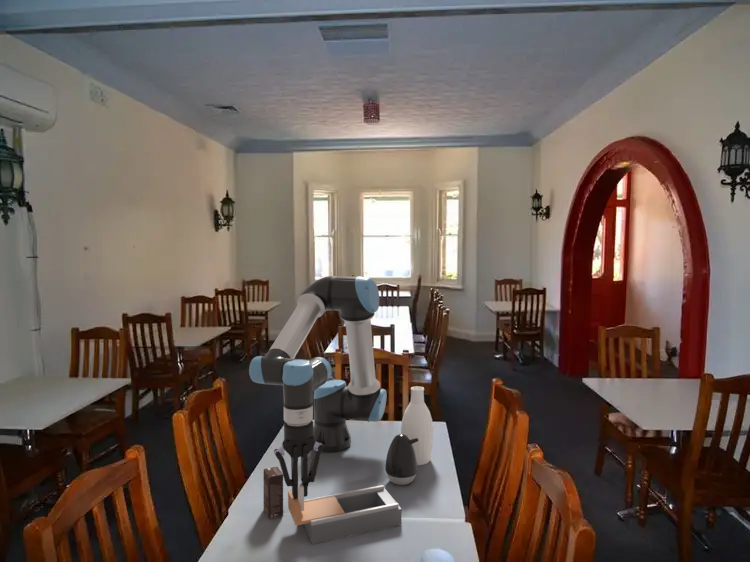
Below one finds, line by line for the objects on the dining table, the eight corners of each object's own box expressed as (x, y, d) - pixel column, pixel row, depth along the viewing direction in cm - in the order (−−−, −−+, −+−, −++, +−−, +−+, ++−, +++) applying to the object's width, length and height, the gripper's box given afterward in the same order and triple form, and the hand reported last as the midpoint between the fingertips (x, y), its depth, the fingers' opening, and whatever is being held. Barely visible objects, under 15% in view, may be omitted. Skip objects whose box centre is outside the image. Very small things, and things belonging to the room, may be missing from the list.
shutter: (288, 508, 141) (287, 490, 141) (334, 499, 146) (334, 482, 145) (295, 525, 133) (295, 507, 132) (344, 515, 137) (344, 497, 137)
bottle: (424, 470, 173) (424, 395, 171) (394, 462, 179) (395, 389, 177) (438, 457, 183) (439, 386, 180) (410, 450, 189) (410, 381, 186)
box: (284, 515, 146) (283, 474, 145) (268, 519, 144) (267, 477, 143) (278, 505, 151) (277, 465, 150) (263, 509, 149) (262, 468, 148)
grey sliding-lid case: (300, 518, 145) (300, 499, 144) (383, 501, 154) (383, 483, 153) (312, 544, 133) (312, 523, 132) (401, 524, 141) (401, 505, 141)
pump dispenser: (416, 490, 160) (416, 442, 158) (382, 487, 162) (382, 439, 160) (420, 475, 170) (420, 429, 168) (388, 472, 172) (388, 427, 170)
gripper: (275, 429, 129) (278, 521, 132) (327, 422, 134) (328, 510, 136) (270, 419, 136) (272, 506, 139) (319, 413, 141) (320, 497, 143)
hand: (300, 508), depth 138 cm, fingers closed
